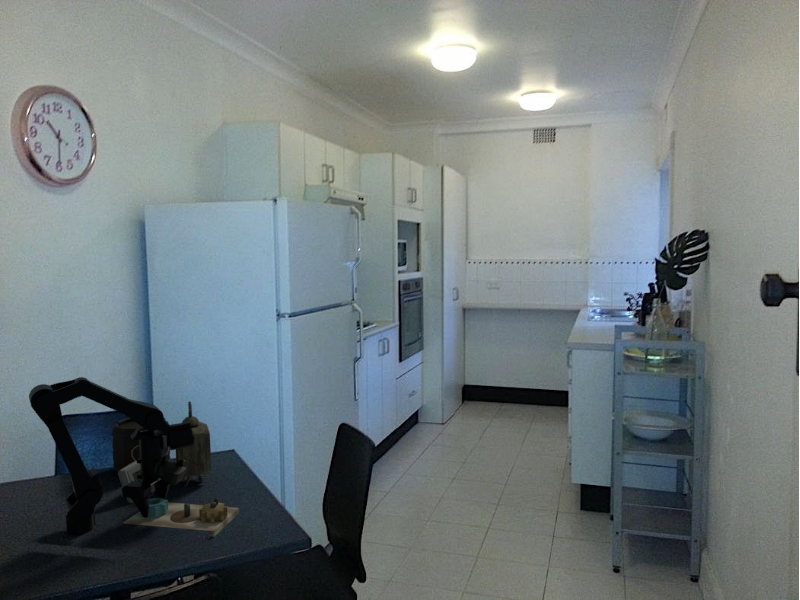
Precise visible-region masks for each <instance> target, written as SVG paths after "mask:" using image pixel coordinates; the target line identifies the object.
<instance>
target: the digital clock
mask: <svg viewBox="0 0 800 600" xmlns="http://www.w3.org/2000/svg"><path fill="white" fill-rule="evenodd" d="M140 473H141V468H140V463H137V460H136V461H134V462H133V463H131V464H129V465H127V466H126V467H125V468H123V469H121V470H120V471H119V472H118V476H117V477H118V478H119V481H120V484H121V489H122V488H123V487H124V486H125V485H127V484H128V483H130V482H132V481H139V482H142V481H143V480H142V479H137V475H138V474H140ZM151 486H152V490H151V493H155V492H156V490H155V487H154V484H152V485H151ZM121 489H120V490H121ZM120 492H121V493H120V494H121V497H122V491H120ZM126 500H127V502H128V503H129V504H135V503H134V502H133V501H132V500H131V498H126Z"/></svg>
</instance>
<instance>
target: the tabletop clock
mask: <svg viewBox="0 0 800 600" xmlns="http://www.w3.org/2000/svg"><path fill="white" fill-rule="evenodd" d="M187 405H188V416H185V418H184V419H183V420H182V421H181V423H182V422H186V421H188V422H190V423H191V429H192V433H193V436H194V444H193V446H192V447H187V448H182V449H176V450H175V463H176V462H177V461H178V460H180V459H184V460H186V465H187V472H186V473H185V474H184V476H183V479H185V478H186V481H185V484H184V485H183V487H188V485H189V482H190V480H191V479H192V477H195V476H198V478H197V481H198V482H199V483H202V482H203V481H204V478H203V476H201V475H206V474H207V473H209V472H211V471H212V456H211V455H212V452H211V450H212V449H211V447H212V446H211V434H210V429H209V426H208V424H207V423H205V422H202V421H200V420H199V419H198V417H196V416H194V415H193V405H192V402H191V401H188V402H187Z"/></svg>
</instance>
